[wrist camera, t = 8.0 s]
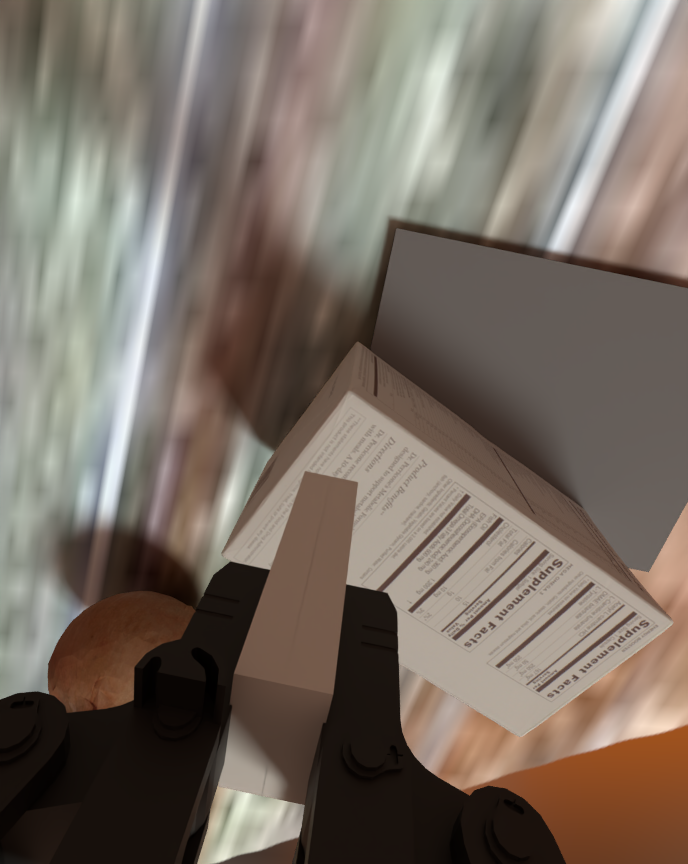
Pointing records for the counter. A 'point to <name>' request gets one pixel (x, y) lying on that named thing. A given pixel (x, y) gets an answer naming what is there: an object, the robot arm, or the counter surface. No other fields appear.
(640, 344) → the mat
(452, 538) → the supplement box
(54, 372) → the counter surface
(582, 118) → the counter surface
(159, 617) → the onion
